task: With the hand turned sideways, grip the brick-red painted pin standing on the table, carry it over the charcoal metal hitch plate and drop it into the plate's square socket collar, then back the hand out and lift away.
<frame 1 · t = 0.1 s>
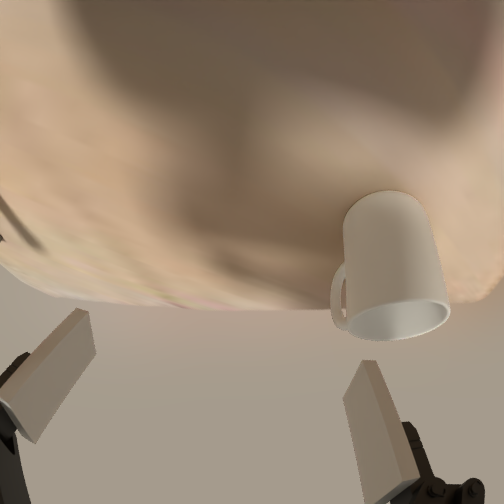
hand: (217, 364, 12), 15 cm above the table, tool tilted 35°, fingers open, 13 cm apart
cup: (370, 228, 26), on the table
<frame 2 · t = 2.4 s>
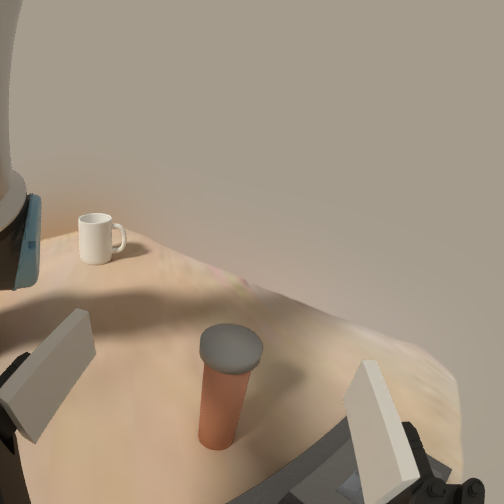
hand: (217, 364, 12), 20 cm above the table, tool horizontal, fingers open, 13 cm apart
pin: (215, 436, 27), on the table
cup: (103, 259, 62), on the table
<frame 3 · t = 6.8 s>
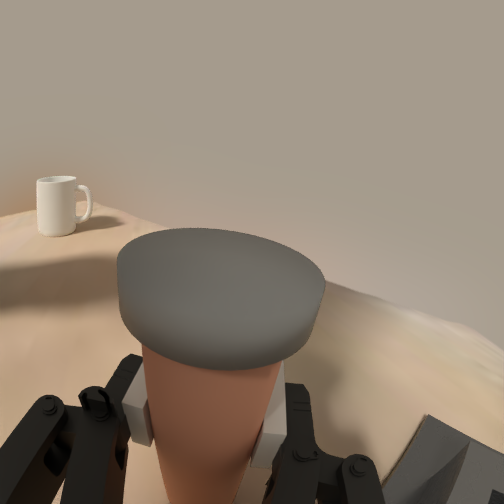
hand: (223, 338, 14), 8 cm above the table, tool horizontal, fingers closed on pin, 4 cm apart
pin: (200, 491, 12), on the table, touching gripper
cup: (65, 231, 47), on the table
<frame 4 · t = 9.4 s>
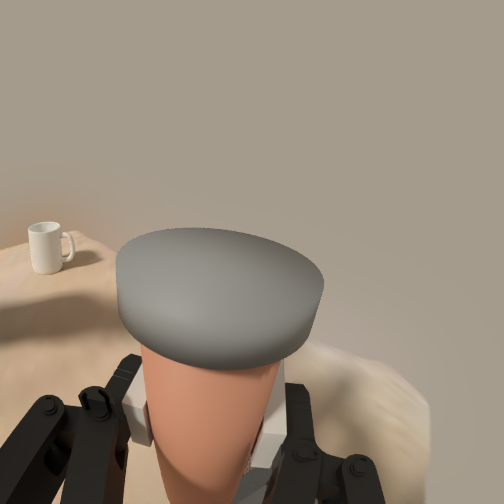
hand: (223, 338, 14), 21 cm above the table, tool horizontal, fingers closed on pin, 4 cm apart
pin: (199, 491, 12), point 13 cm above the table, touching gripper
cup: (54, 268, 56), on the table
when the fingers open (12 cm above the table, at t = 12.2 s): pin drops 2 cm, resting on hitch plate.
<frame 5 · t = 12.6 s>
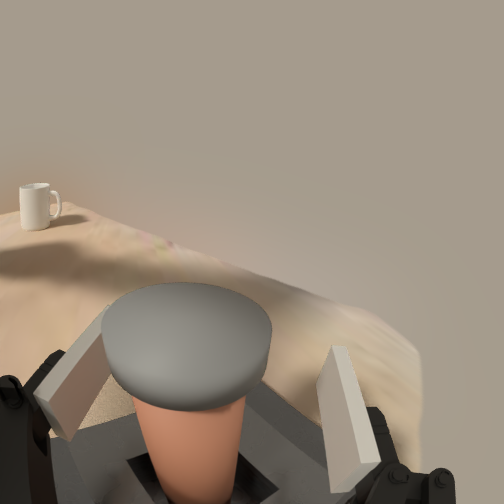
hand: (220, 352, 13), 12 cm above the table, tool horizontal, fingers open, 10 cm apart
pin: (199, 502, 13), point 1 cm above the table, touching hitch plate
cup: (41, 227, 56), on the table
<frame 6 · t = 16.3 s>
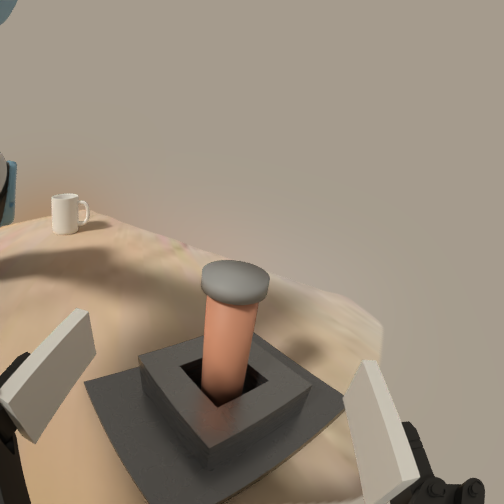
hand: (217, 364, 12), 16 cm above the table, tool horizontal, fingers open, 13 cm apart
hitch plate: (219, 410, 27), on the table
pin: (219, 404, 26), point 1 cm above the table, touching hitch plate
cup: (71, 231, 70), on the table
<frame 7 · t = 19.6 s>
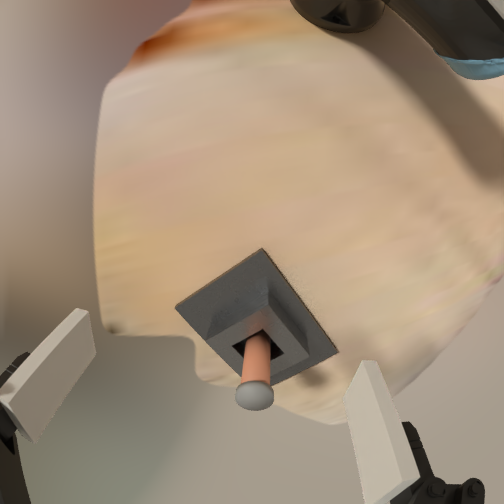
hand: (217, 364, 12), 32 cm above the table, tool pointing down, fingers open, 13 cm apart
hitch plate: (259, 329, 49), on the table
pin: (258, 333, 48), point 1 cm above the table, touching hitch plate
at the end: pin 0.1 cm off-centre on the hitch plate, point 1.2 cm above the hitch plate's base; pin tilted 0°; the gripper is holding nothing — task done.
